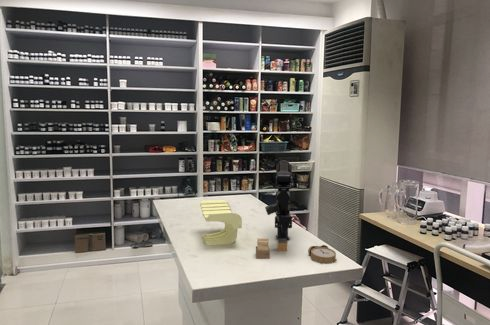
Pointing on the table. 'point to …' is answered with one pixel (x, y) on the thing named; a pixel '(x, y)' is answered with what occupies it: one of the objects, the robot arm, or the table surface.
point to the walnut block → (262, 254)
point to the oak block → (262, 244)
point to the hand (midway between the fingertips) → (282, 230)
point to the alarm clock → (322, 254)
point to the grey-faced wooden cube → (282, 244)
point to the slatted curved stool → (221, 213)
